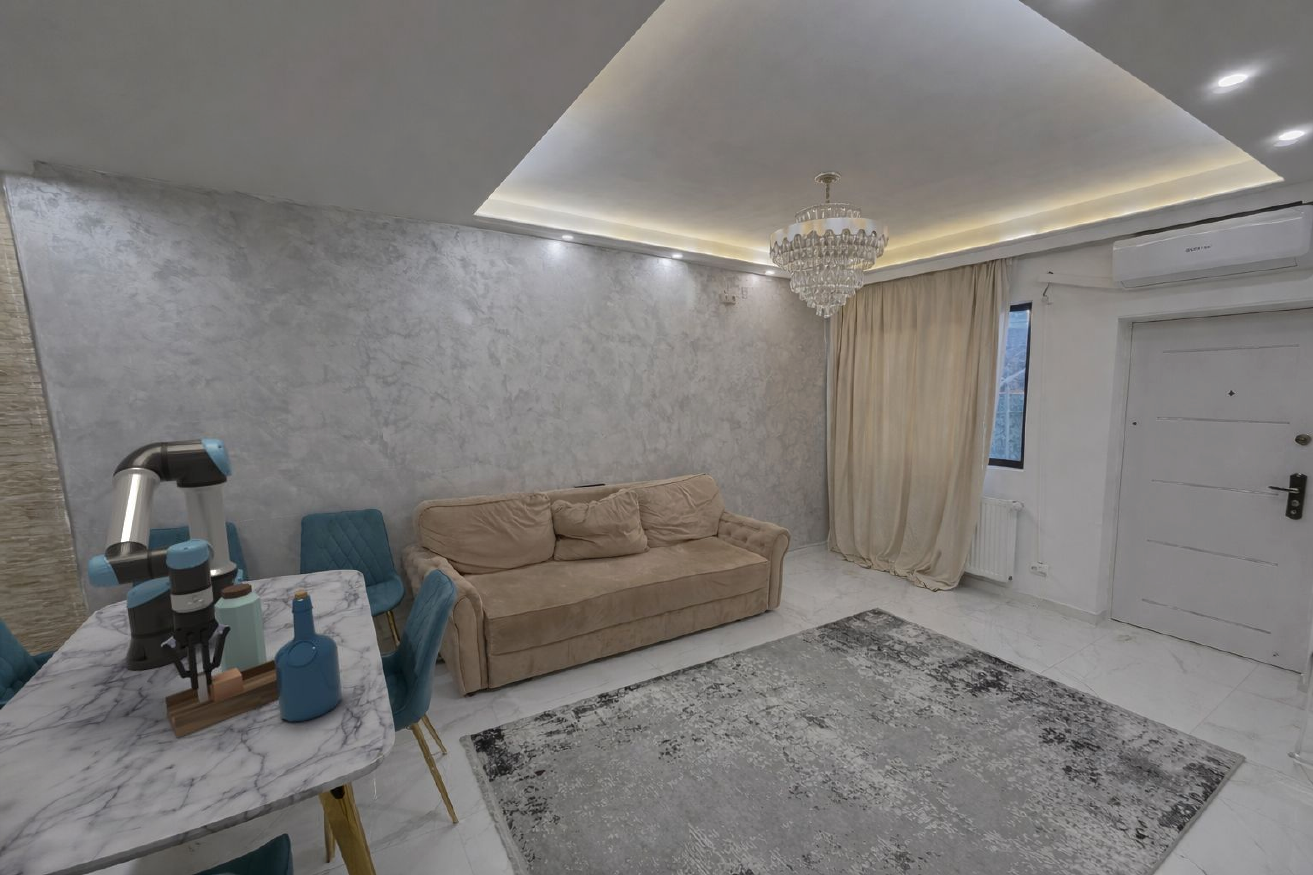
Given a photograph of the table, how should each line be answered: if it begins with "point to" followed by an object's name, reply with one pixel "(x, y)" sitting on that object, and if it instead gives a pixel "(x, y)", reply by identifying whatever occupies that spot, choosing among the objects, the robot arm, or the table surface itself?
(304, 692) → the wine bottle
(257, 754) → the table surface
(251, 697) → the trap box
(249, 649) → the water bottle
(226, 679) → the block
